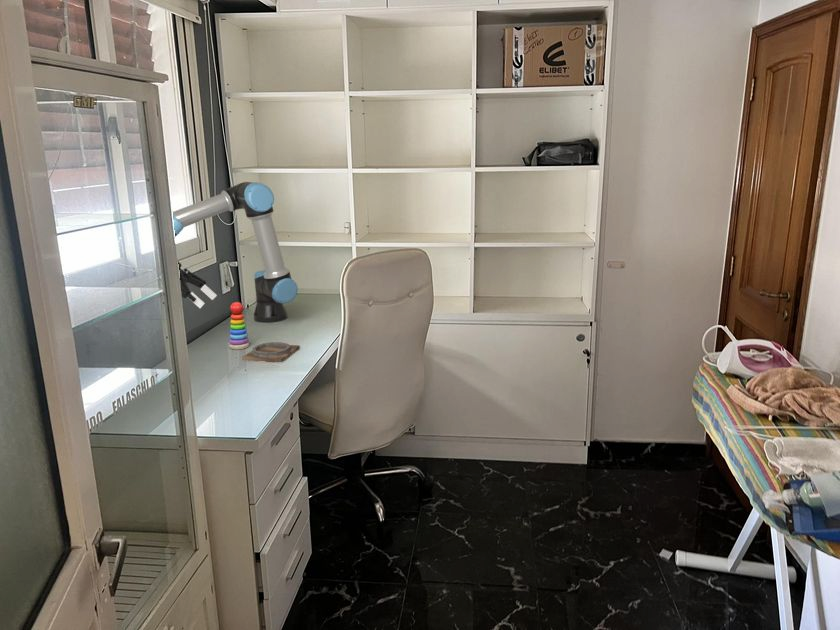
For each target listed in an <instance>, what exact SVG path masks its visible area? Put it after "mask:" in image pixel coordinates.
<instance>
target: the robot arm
mask: <svg viewBox="0 0 840 630" xmlns="http://www.w3.org/2000/svg"><path fill="white" fill-rule="evenodd" d="M274 202H275V196H274V192H273V191H272V190H271V188H270V187H269V186H267V185H266V184H264V183H262V182H257V181H256V182H254V181H253V182H251V181H243V182H240V183H238V184H235V185H233V186H231V187H228V188H226V189H223V190H221V193H219V194H216V195H214V196H212V197H209V198H206V199H204V200H200V201H198V202H196V203H193V204H190V205H187V206H186V207H182V208H179V209H177V210H175V211H174V210H173V211H172V212H173V220H174V230H175V237H174V238H176V237H177V236H178V235H180V233H181V232H182V231H183V229H184V228H186V227H188V226H191V225H194V224H197V223H199V222H201V221H204V220H206V219H209V218H212V217H215V216H217V215H220V214H223V213H225V212H227V211H229V212H234V211H238V210H244V212H245V215H246V218H247V219H249V220H251V224H252V227H253V230H254V234H255V238H256V242H257V245H258V248H259V252H260V256H261V260H262V263H263V267H264V270H259V271H256V272H255V273H254V278H253V280H254V288H255V298H256V300H255V301H256V305H255V309H254V312H253V320H254V321H255V322H259V323H273V322H274V321H275V322H279V320H280V321H284V320H286V319H287V318H288V317H287V311H286V308H285V305H284V304H289V303H290V302H292V301H293V300H294V299H295V298H296V296H297V294H298V290H299V288H298V284H297V283H296V282H295V280H294V279H293V278H292V275H291V272H290V270H289V269H288V268H287V267H286V266H285V262H284V259H283V256H282V252H281V251H282V250H281V247H280V244H279V241H278V237H277V234H276V228H275V226H274V221H273V218H272V215H273V213H274V207H273V204H274ZM178 264H179V270H180V280H181V291H182V296H181V297H182V298H183V299H187V298H188V299H189V300H190V302H192V303H193V304H194V305H195V306H196V307H198V308H199V309H201V308H202V307H203V306H204V305H205V304H206V303H205V302H204V301H203V300H202V299H201V298H199V296H198V295H196V294H195V293H194V291H191V290H190V288H189V287H188V285H187V283H189V284H191V285H193V286H195V287H196V288H197V287H198V288H200V291H201V292H203V293H204V294H205V295H206V296H207V297H208V298H209V299H210V300H212V301H214V299H215V298H217V296H218V295H217V294H216V293H215V292H214V291H213V290H212V289H211V288H210V287H208V286H207V281H206V280H204V279H203V278H201V277H199V276H198V275H196V274H195V273H193V272H192V271H190V270H189V269H187V267H185V268H184V269H181V267H182V263H181V262H179V261H178ZM286 317H287V318H286ZM285 318H286V319H285ZM283 319H284V320H283ZM275 322H274V323H275Z"/></svg>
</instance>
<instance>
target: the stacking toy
mask: <svg viewBox="0 0 840 630" xmlns="http://www.w3.org/2000/svg"><path fill="white" fill-rule="evenodd" d="M229 309H230V312H231V313H232V314H231V315H230V318H231V319H230V321H229V322H230V329H229V333H230V334H229V340H228V342H229V344H228V347H229V349H231V350H234V351H235V350H236V351H237V350H238V351H239V350H244V348H245V349H247V348H249V346H250V343H249V338H248V336H249V335H248V333H247V332H248V331H247V328H246V326H247V324H246V323H245V319H244V318H245V315H244V314H243V311H244V306H243V304H242V303H241V302H240V301H235V302H232V303H231V305H230V308H229Z"/></svg>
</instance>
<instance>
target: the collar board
mask: <svg viewBox="0 0 840 630" xmlns="http://www.w3.org/2000/svg"><path fill="white" fill-rule="evenodd" d="M300 349H301V345H299V344H289V343H286V342H279V341H272V342H265V343H263V342H262V343H261V344H256V345H255V346H254V347H252V350H251V351H249V352H248V353H246V354H245V355H243V356H242V357H241V361H243V360H252V361H251V362H259V361H265V362H264V363H275V362H282V361H283V362H284V361H286V360H287V359H288V358H289V357H291V356H292V355H293V354H295V353H296V352H297V351H299V350H300ZM290 355H291V356H290ZM286 358H287V359H286ZM253 360H254V361H253ZM283 362H282V363H283Z"/></svg>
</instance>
